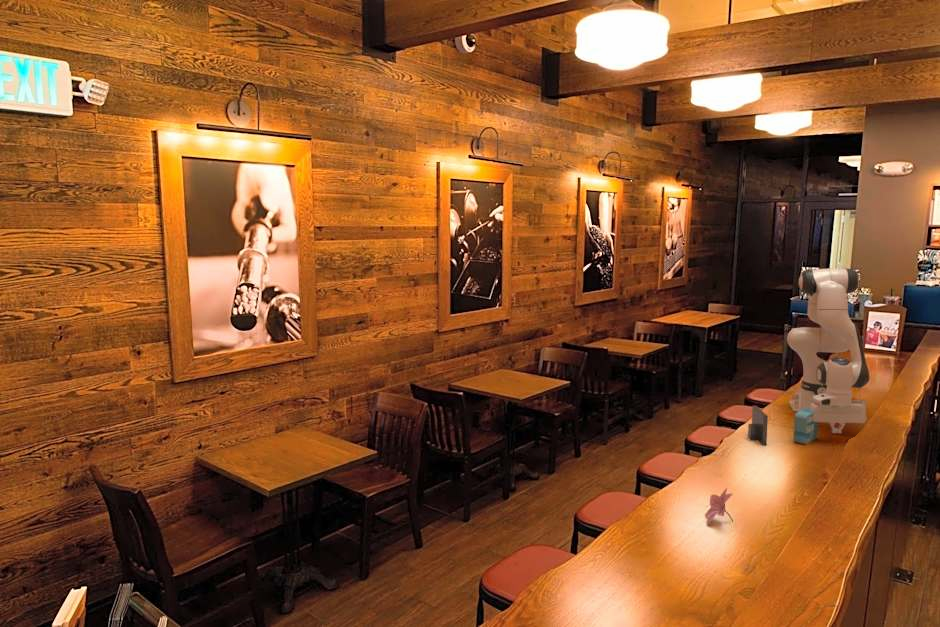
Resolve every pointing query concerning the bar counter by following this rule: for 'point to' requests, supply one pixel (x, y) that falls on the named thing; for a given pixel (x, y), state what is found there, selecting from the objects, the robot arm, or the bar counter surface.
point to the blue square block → (805, 427)
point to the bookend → (758, 426)
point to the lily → (717, 505)
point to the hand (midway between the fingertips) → (836, 432)
